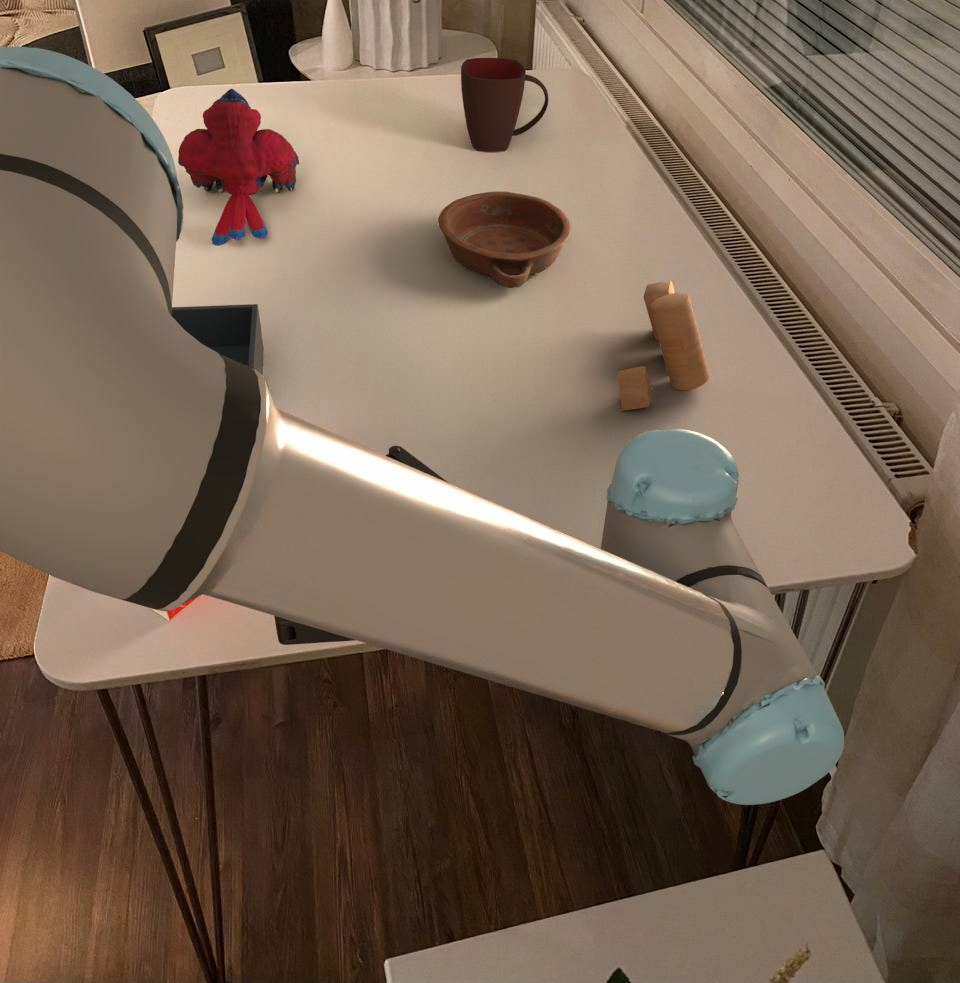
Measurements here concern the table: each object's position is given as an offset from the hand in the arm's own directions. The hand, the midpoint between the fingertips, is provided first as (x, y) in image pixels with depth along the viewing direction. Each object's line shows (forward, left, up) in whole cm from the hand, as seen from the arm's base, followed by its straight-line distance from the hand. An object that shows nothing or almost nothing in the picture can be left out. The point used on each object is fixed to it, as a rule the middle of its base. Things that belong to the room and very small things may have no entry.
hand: (254, 509), depth 75 cm
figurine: (-39, +62, -11) cm, 74 cm away
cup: (-14, +100, -11) cm, 102 cm away
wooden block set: (+24, +48, -11) cm, 55 cm away
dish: (-2, +66, -11) cm, 67 cm away
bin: (-22, +25, -11) cm, 36 cm away
